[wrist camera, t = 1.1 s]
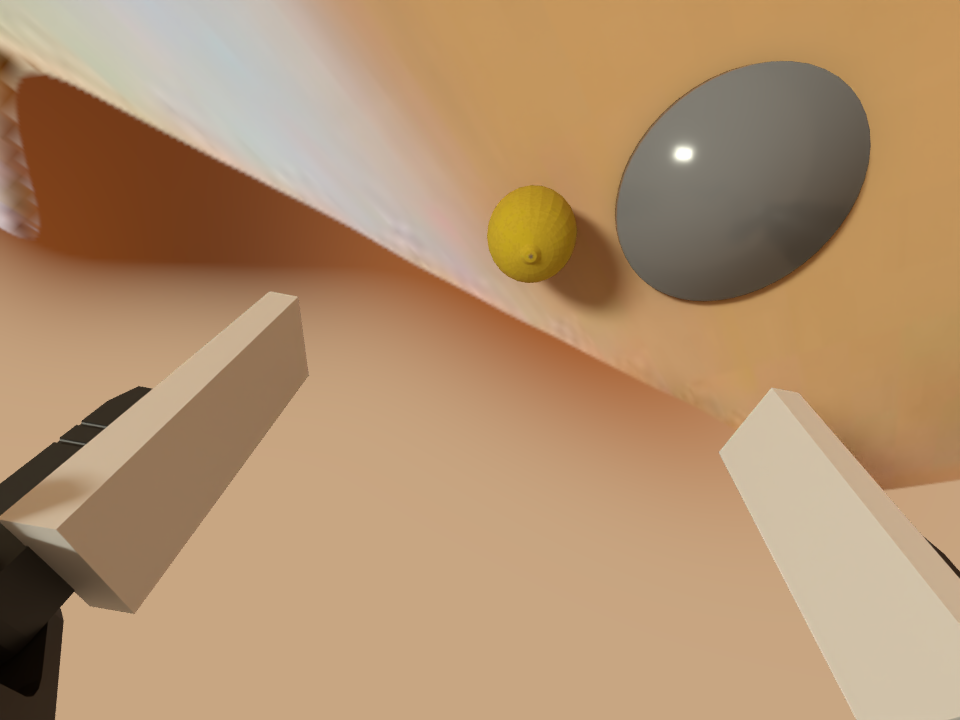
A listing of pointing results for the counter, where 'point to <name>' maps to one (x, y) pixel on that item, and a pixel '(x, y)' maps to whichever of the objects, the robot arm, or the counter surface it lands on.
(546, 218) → the lemon
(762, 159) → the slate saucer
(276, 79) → the counter surface
